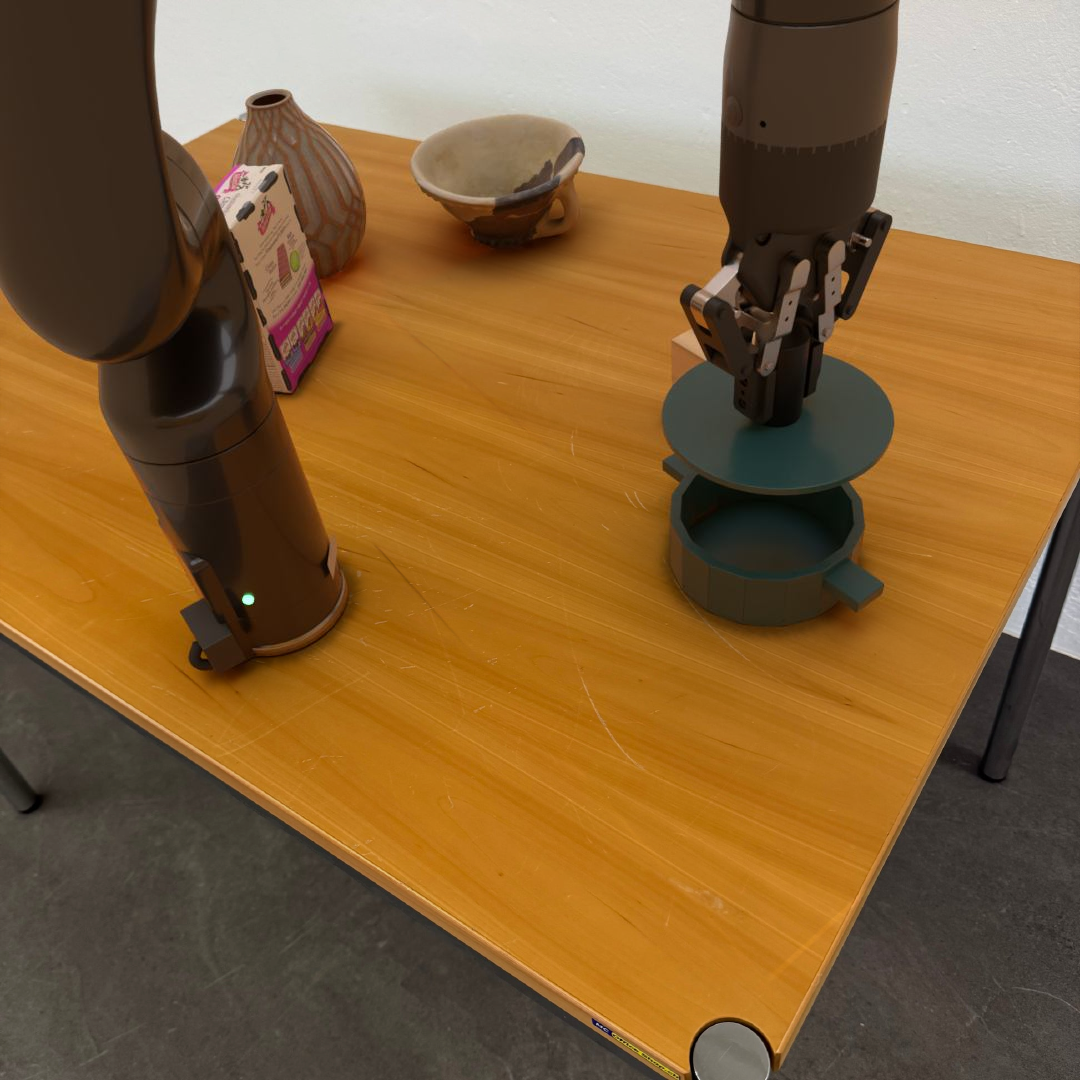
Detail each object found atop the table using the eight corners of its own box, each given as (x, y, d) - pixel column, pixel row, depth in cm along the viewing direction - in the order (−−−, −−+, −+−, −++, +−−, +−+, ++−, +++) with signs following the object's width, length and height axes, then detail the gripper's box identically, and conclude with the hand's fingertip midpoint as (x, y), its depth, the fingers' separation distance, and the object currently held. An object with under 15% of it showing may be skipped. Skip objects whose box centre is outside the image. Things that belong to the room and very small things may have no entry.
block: (714, 451, 74) (717, 367, 68) (671, 422, 77) (670, 339, 71) (759, 423, 76) (767, 339, 70) (716, 396, 79) (719, 313, 73)
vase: (344, 303, 95) (295, 129, 83) (234, 292, 99) (170, 124, 87) (398, 239, 104) (360, 71, 91) (294, 231, 107) (244, 69, 95)
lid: (777, 539, 51) (787, 445, 46) (616, 423, 59) (611, 334, 54) (941, 429, 56) (965, 333, 51) (771, 336, 64) (779, 246, 59)
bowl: (393, 260, 100) (372, 173, 94) (487, 186, 110) (474, 102, 104) (533, 294, 93) (521, 202, 86) (620, 211, 103) (616, 122, 96)
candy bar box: (288, 324, 94) (233, 162, 82) (335, 326, 93) (286, 161, 81) (242, 394, 86) (174, 226, 74) (292, 396, 85) (232, 226, 73)
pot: (793, 688, 58) (801, 639, 55) (610, 534, 69) (607, 484, 66) (926, 588, 63) (941, 536, 59) (734, 457, 73) (737, 407, 70)
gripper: (753, 183, 39) (734, 489, 51) (971, 77, 44) (906, 380, 56) (634, 133, 44) (644, 426, 56) (844, 42, 49) (810, 329, 61)
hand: (776, 401), depth 56 cm, fingers closed on lid, 3 cm apart
